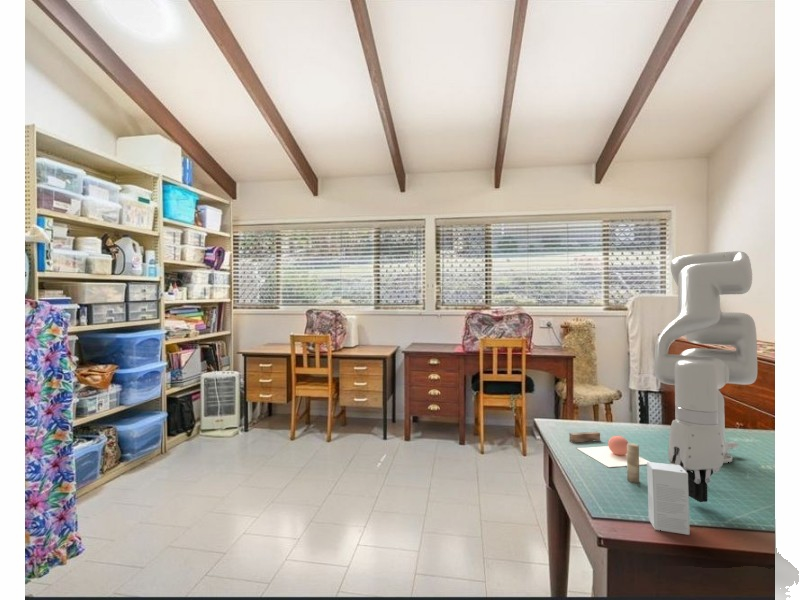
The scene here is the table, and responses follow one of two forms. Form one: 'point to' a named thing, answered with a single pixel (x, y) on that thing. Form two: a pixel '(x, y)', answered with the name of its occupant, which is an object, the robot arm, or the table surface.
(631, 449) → the post
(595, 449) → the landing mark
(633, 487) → the table surface
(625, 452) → the ball
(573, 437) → the wall
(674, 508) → the skincare box
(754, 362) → the robot arm
